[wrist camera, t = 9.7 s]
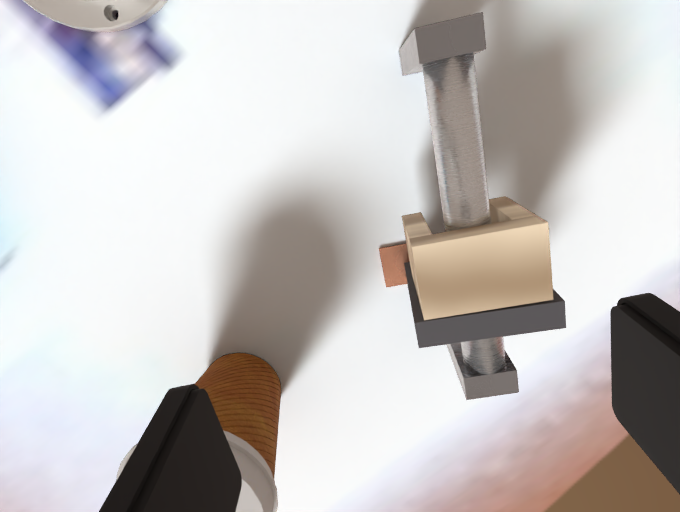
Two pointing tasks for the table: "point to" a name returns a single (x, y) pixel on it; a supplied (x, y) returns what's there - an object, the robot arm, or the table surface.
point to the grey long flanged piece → (456, 174)
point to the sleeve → (480, 262)
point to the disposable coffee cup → (246, 423)
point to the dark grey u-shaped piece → (485, 320)
